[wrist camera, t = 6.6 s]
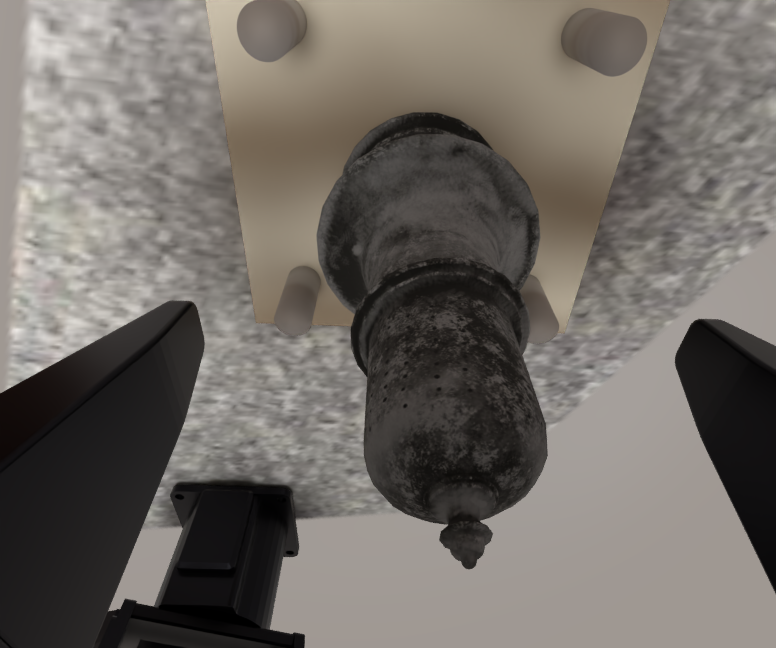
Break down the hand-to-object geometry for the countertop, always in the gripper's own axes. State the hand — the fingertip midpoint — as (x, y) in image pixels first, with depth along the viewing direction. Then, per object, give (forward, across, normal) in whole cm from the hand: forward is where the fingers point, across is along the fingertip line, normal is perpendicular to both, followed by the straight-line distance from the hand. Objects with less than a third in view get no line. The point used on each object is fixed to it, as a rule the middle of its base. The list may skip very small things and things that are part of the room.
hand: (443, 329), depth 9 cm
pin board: (+9, 0, 0) cm, 9 cm away
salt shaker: (+8, 0, +1) cm, 8 cm away
